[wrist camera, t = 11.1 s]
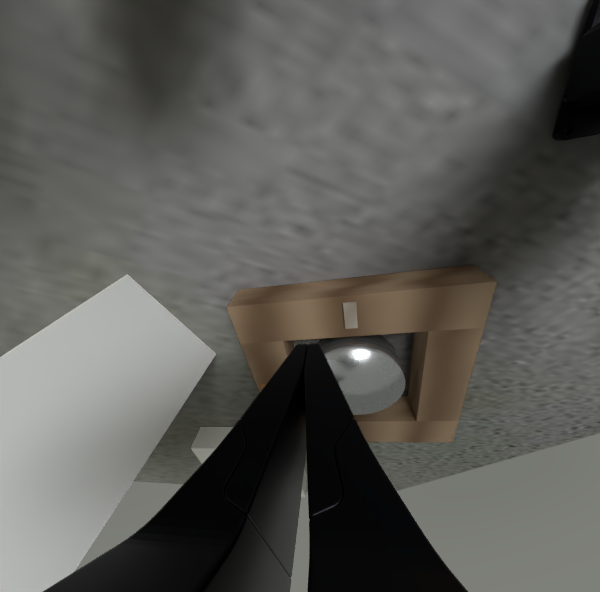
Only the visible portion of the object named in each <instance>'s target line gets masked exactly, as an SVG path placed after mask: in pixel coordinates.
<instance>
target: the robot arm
mask: <svg viewBox="0 0 600 592" xmlns="http://www.w3.org/2000/svg"><path fill="white" fill-rule="evenodd" d="M567 126H568V131H567V132H566V133H565V134H564V130H565V128H566V127H567ZM597 134H600V0H593V3H592V6H591V9H590V12H589V16H588V19H587V22H586V26H585V29H584V32H583V36H582V38H581V40H580V44H579V47H578V50H577V54H576V57H575V60H574V63H573V67H572V70H571V73H570V77H569V80H568V83H567V87H566V90H565V93H564V97H563V101H562V105H561V108H560V111H559V115H558V118H557V121H556V125H555V128H554V131H553V138H554V139H555V140H556V141H561V140H569V139H574V138H580V137H586V136H591V135H597ZM240 419H241V420H238V421H237V423H236V424H235V425H234V427H233V428H232V429H231V431H230V432H229V433H228V434H227V435H226V437H225V438H224V439H223V440H222V442H221V443H220V444H219V445H218V447H217V448H216V449H215V450H214V451H213V452H212V453H211V455H210V456H209V457H208V458H207V459H206V460H205V461H204V463H203V464H202V465H201V466H200V467H199V468H198V469H197V470H196V471H195V472H194V473H193V475H192V476H191V477H190V478H189V479H188V480H187V481H186V482H185V483H184V484H183V486H182V487H181V488H180V489H179V490H178V491H177V492H176V493H175V494H174V496H173V497H172V498H171V499H170V500H169V501H168V502H167V503H166V504H165V505H164V506H163V508H162V509H161V510H160V511H159V512H158V513H157V514H156V515H155V516H154V517H153V518H152V519H151V520H150V521H148V522H147V523H146V524H145V525H144V526H143V527H142V528H140V529H139V530H138V531H137V532H136V533H134V534H133V535H132V536H130V537H129V538H128V539H126V540H125V541H123V542H122V543H120V544H118V545H117V546H115V547H114V548H112V549H110V550H109V551H107V552H106V553H104V554H102V555H101V556H99V557H97V558H96V559H94V560H93V561H91V562H89V563H88V564H86V565H85V566H83V567H81V568H80V569H78V570H76V571H75V572H73V573H72V574H70V575H68V576H67V577H65V578H64V579H62V580H60V581H59V582H57V583H56V584H54V585H52V586H51V587H49V588H47V589H46V590H44V591H43V592H290V586H291V578H290V577H291V576H292V568H293V559H294V551H295V542H296V534H297V526H298V517H299V508H300V500H301V492H302V484H303V475H304V467H305V458H306V450H307V475H308V502H309V503H308V504H309V519H310V521H309V531H310V559H309V577H308V592H468V591H467V590H466V589H465V587H464V586H463V585H462V584H461V583H460V582H459V580H458V579H457V578H456V577H455V576H454V574H453V573H452V572H451V571H450V570H449V568H448V567H447V566H446V565H445V564H444V562H443V561H442V560H441V558H440V557H439V555H438V554H437V552H436V551H435V550H434V548H433V547H432V545H431V544H430V542H429V541H428V539H427V538H426V537H425V535H424V534H423V532H422V530H421V529H420V528H419V526H418V524H417V523H416V521H415V520H414V518H413V517H412V515H411V513H410V512H409V510H408V509H407V507H406V505H405V504H404V502H403V501H402V499H401V498H400V496H399V495H398V493H397V491H396V490H395V488H394V487H393V485H392V483H391V482H390V480H389V479H388V477H387V475H386V474H385V472H384V471H383V469H382V467H381V466H380V464H379V462H378V461H377V459H376V457H375V456H374V454H373V452H372V451H371V449H370V447H369V445H368V443H367V441H366V439H365V437H364V435H363V433H362V432H361V429H360V427H359V425H358V423H357V421H356V419H355V418H354V415H353V413H352V411H351V409H350V407H349V405H348V403H347V400H346V398H345V396H344V394H343V392H342V390H341V388H340V386H339V384H338V382H337V379H336V377H335V375H334V373H333V371H332V369H331V367H330V365H329V363H328V361H327V359H326V356H325V354H324V352H323V350H322V348H321V346H320V344H319V343H311V344H308V345H307V344H298V345H296V346H295V347H294V349H293V350H292V351H291V353H290V354H289V355H288V357H287V358H286V359H285V360H284V362H283V363H282V364H281V366H280V367H279V368H278V370H277V371H276V372H275V373H274V375H273V376H272V377H271V379H270V380H269V381H268V383H267V384H266V385H265V386H264V388H263V389H262V390H261V392H260V393H259V394H258V396H257V397H256V398H255V399H254V401H253V402H252V403H251V405H250V406H249V407H248V409H247V410H246V411H245V412H244V414H243V415H242V416H241V418H240Z"/></svg>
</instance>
